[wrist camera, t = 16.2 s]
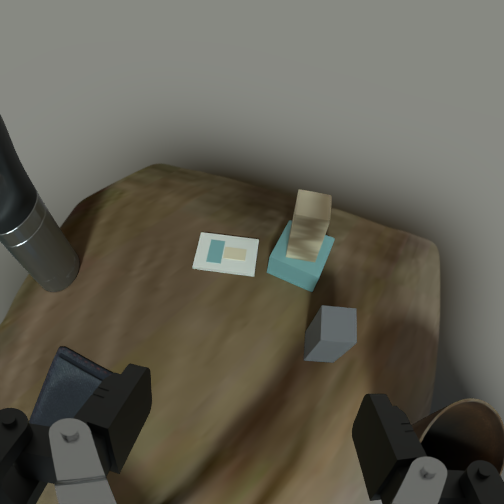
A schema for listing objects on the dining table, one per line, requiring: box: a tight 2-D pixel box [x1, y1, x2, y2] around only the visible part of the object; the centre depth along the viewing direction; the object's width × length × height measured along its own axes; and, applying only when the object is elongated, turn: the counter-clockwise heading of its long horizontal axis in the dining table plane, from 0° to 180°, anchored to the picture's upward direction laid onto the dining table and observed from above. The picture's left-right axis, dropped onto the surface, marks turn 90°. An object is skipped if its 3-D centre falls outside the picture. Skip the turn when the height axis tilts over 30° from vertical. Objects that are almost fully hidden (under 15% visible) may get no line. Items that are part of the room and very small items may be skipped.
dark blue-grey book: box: [29, 347, 114, 426], centre depth 35 cm, size 20×2×15 cm
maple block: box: [286, 189, 331, 262], centre depth 44 cm, size 4×4×10 cm
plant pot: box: [412, 398, 504, 476], centre depth 28 cm, size 15×15×16 cm
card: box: [193, 232, 259, 277], centre depth 52 cm, size 10×7×1 cm
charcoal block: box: [304, 305, 357, 362], centre depth 40 cm, size 4×4×10 cm
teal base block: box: [267, 220, 335, 292], centre depth 50 cm, size 8×8×5 cm
